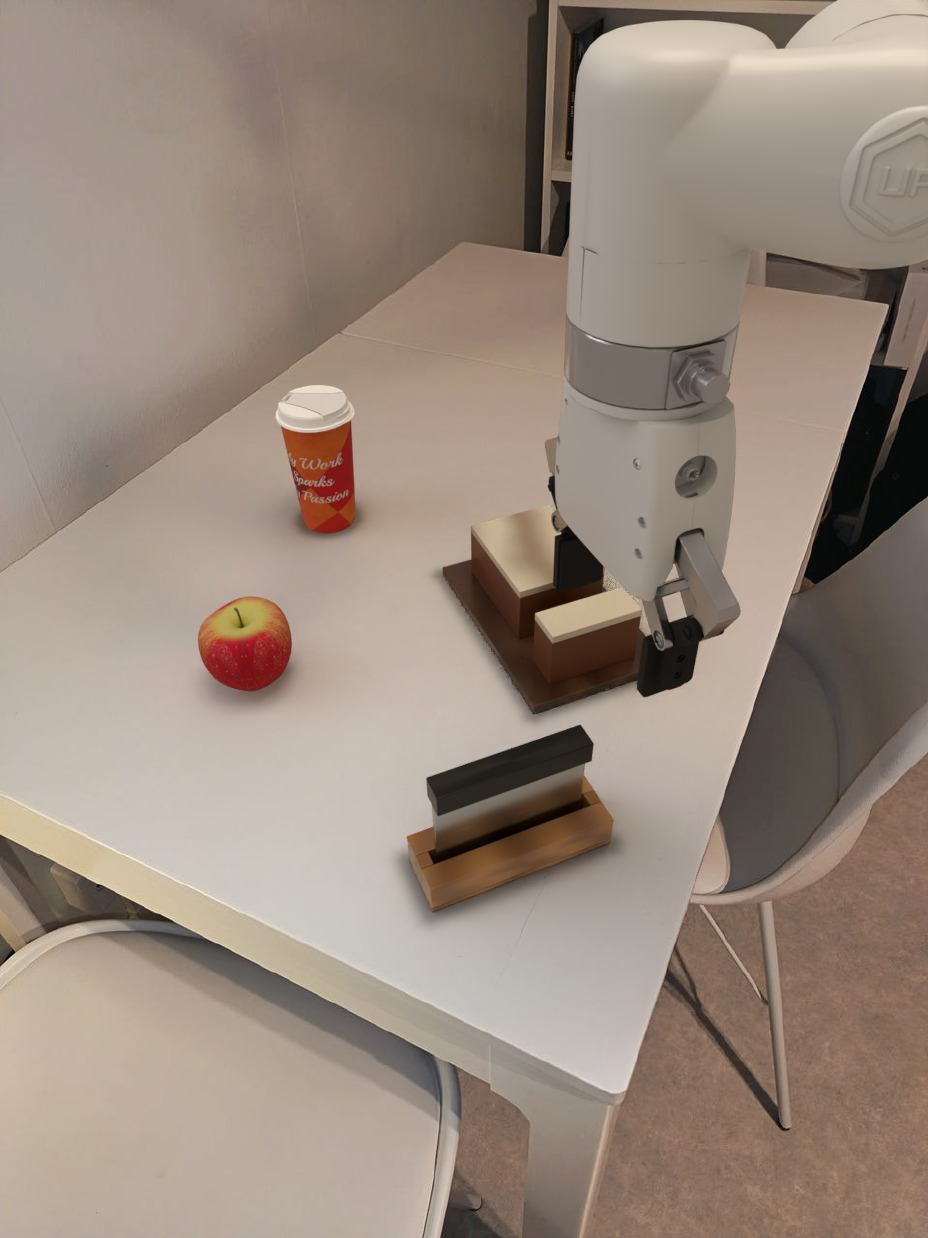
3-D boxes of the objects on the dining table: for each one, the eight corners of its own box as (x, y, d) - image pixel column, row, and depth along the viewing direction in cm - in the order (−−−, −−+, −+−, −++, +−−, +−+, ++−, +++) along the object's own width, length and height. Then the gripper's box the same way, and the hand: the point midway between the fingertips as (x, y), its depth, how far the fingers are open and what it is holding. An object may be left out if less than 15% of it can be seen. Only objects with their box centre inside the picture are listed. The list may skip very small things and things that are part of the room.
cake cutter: (571, 811, 71) (580, 723, 64) (583, 830, 69) (594, 743, 62) (432, 863, 67) (425, 777, 60) (441, 885, 66) (436, 799, 59)
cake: (558, 542, 99) (562, 488, 94) (667, 669, 83) (677, 613, 79) (442, 574, 95) (440, 520, 90) (533, 714, 79) (536, 658, 75)
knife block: (579, 795, 73) (582, 772, 71) (610, 842, 69) (614, 819, 67) (408, 858, 68) (406, 835, 66) (432, 912, 65) (430, 890, 63)
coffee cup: (282, 532, 101) (259, 414, 91) (312, 493, 107) (294, 378, 97) (350, 544, 99) (335, 424, 89) (376, 504, 105) (365, 387, 95)
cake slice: (616, 634, 86) (622, 586, 82) (635, 657, 83) (642, 609, 79) (532, 660, 83) (534, 612, 79) (549, 685, 81) (552, 637, 77)
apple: (210, 717, 80) (185, 635, 73) (208, 653, 86) (185, 573, 79) (302, 700, 81) (285, 618, 74) (293, 639, 87) (277, 559, 81)
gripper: (846, 418, 35) (764, 712, 46) (622, 275, 47) (600, 535, 58) (684, 462, 33) (640, 758, 44) (493, 301, 45) (497, 566, 56)
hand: (618, 631), depth 51 cm, fingers open, 9 cm apart
